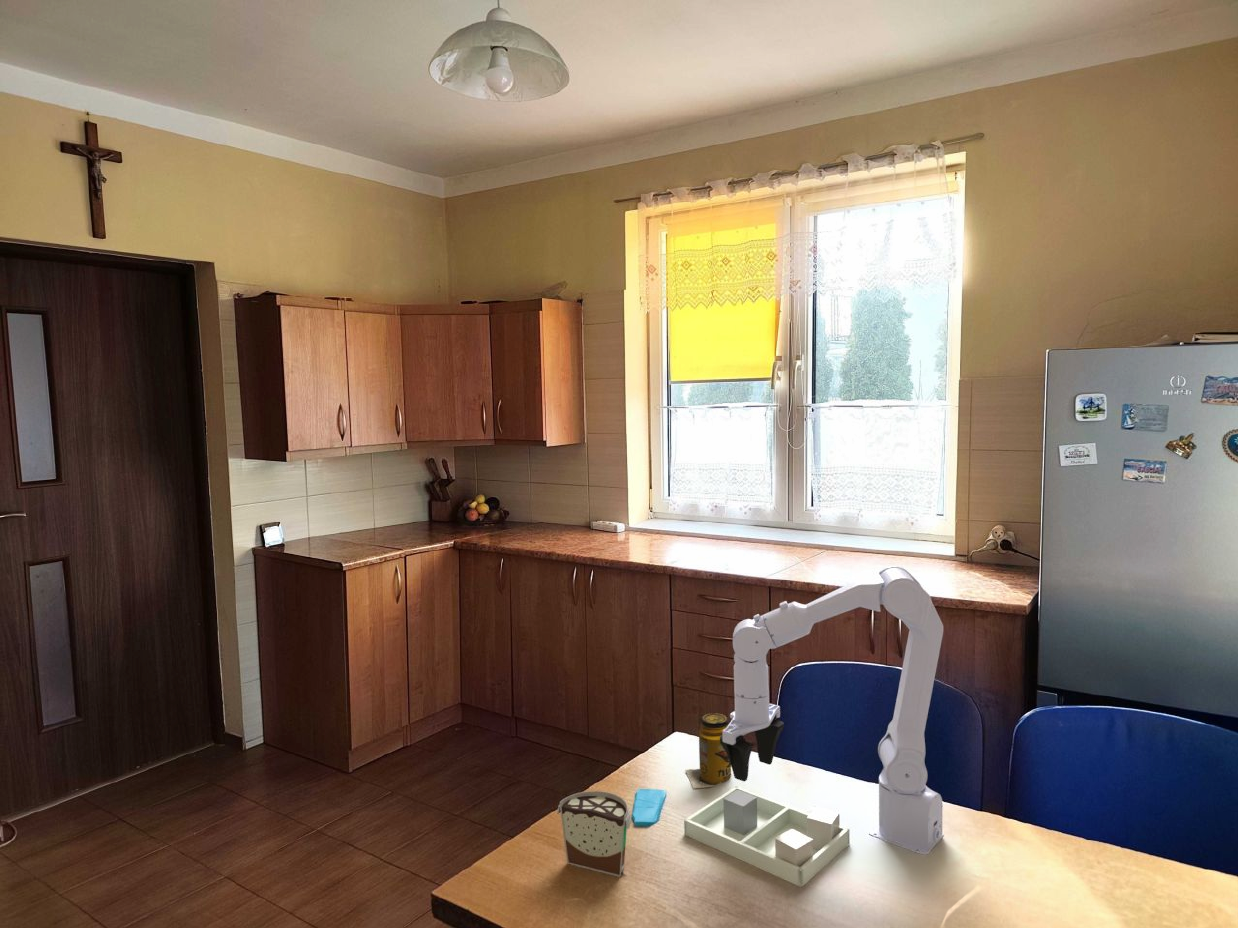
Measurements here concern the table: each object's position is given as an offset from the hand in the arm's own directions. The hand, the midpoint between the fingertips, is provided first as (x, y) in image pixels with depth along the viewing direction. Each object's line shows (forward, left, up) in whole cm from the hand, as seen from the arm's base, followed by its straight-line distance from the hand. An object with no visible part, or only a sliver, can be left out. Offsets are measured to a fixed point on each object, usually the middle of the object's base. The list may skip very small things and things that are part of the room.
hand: (753, 770), depth 134 cm
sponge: (+18, +8, -10) cm, 22 cm away
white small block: (-12, -2, -9) cm, 15 cm away
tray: (-4, +3, -10) cm, 11 cm away
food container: (+13, +24, -10) cm, 29 cm away
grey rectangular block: (+1, +2, -9) cm, 10 cm away
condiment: (+16, -9, -10) cm, 21 cm away
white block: (-12, +7, -9) cm, 17 cm away
